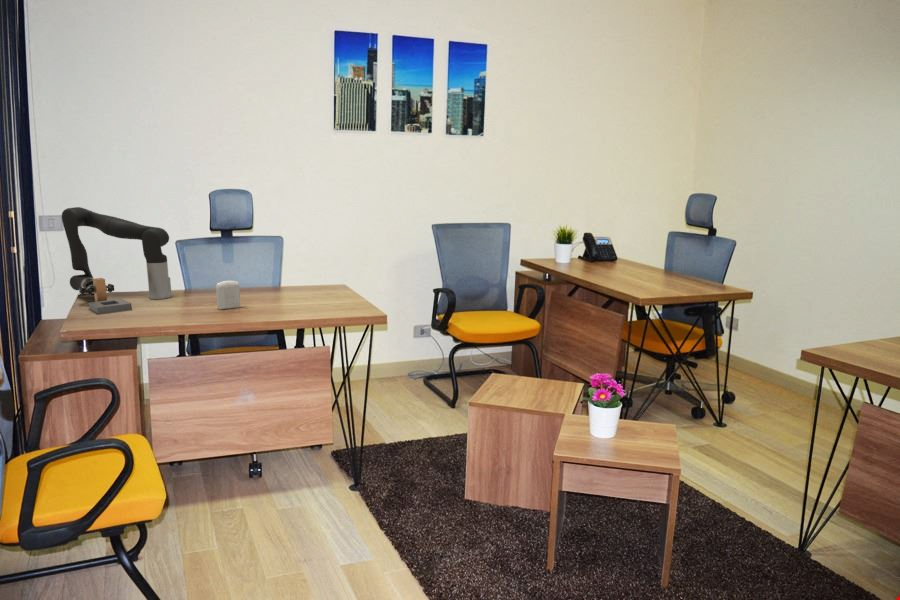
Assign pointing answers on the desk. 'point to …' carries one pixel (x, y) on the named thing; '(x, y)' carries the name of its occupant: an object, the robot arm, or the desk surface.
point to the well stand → (110, 306)
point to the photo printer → (228, 294)
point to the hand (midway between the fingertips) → (101, 291)
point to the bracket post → (99, 289)
